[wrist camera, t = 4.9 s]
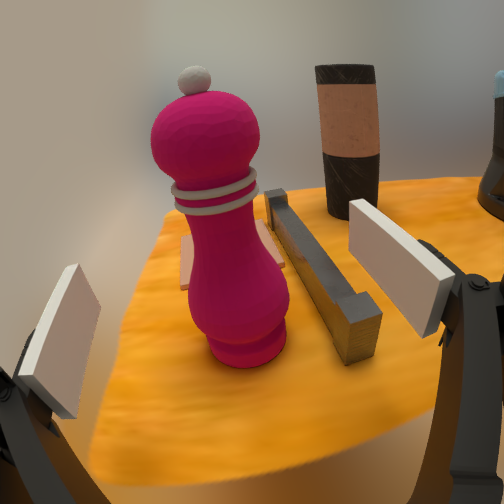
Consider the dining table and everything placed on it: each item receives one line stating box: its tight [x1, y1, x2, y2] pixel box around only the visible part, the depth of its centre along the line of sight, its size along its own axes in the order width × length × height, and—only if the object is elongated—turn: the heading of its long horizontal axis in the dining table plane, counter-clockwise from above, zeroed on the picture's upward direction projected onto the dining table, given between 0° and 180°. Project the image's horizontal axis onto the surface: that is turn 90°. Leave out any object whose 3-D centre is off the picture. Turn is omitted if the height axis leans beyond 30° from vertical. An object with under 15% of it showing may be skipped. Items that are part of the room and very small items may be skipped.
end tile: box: [180, 219, 285, 290], centre depth 36 cm, size 11×11×1 cm
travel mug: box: [315, 64, 380, 220], centre depth 35 cm, size 8×8×20 cm
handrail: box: [264, 188, 383, 365], centre depth 29 cm, size 24×2×4 cm, turn 11°
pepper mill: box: [151, 66, 289, 368], centre depth 19 cm, size 7×7×20 cm
